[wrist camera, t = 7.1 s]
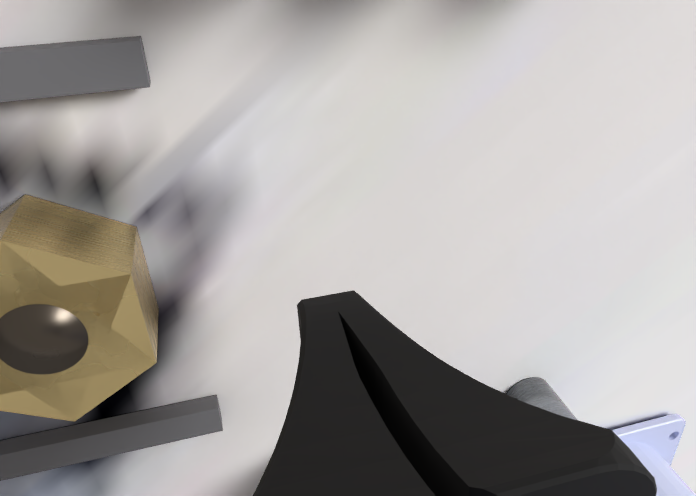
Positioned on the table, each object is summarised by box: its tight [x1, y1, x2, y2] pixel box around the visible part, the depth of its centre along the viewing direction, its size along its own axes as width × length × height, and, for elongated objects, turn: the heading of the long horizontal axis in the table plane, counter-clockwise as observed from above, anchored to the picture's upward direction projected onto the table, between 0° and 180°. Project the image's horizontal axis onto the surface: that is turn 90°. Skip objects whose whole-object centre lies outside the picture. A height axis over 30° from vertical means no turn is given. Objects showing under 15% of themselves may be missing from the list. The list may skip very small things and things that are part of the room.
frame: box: [0, 36, 223, 481], centre depth 15 cm, size 12×9×1 cm
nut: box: [0, 194, 159, 421], centre depth 14 cm, size 5×5×2 cm
